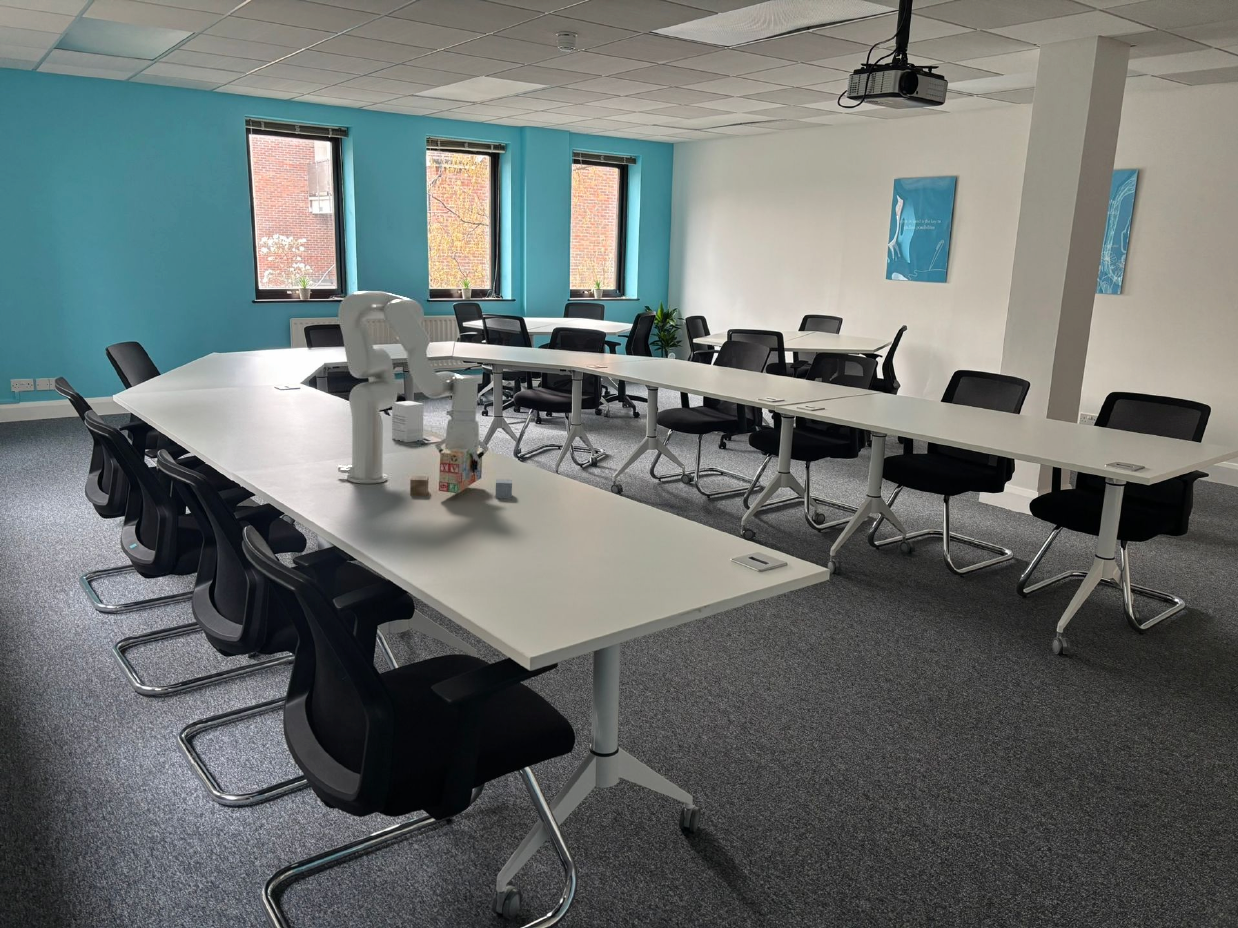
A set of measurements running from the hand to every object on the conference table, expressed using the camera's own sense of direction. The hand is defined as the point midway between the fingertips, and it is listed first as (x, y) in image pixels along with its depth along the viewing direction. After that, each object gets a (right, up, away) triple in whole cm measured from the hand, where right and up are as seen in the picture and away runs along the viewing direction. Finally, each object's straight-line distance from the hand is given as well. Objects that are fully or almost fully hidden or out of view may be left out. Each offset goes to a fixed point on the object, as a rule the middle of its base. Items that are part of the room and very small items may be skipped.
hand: (460, 471), depth 276 cm
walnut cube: (-13, -7, -1) cm, 15 cm away
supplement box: (-36, +12, +78) cm, 87 cm away
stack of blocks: (0, -5, +2) cm, 5 cm away
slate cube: (+13, -8, +2) cm, 16 cm away
